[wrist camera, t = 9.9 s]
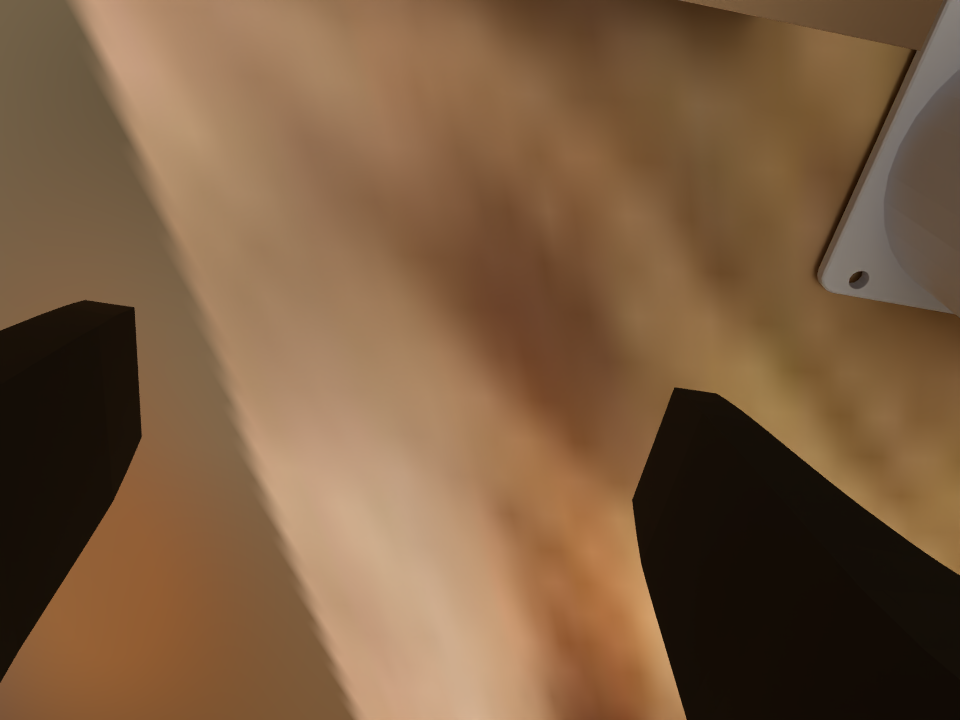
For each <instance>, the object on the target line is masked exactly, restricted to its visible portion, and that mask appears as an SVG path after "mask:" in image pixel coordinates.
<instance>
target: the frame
mask: <svg viewBox="0 0 960 720" xmlns="http://www.w3.org/2000/svg"><path fill="white" fill-rule="evenodd" d="M680 1H685V2H690V3H695V4H700V5H704V6H709V7H714V8H719V9H723V10H728V11H733V12H738V13H742V14H747V15H752V16H757V17H761V18H766V19H771V20H776V21H780V22H785V23H790V24H795V25H799V26H804V27H809V28H814V29H818V30H823V31H828V32H833V33H838V34H842V35H847V36H852V37H857V38H861V39H866V40H871V41H876V42H880V43H885V44H890V45H895V46H899V47H904V48H909V49H914V50H918V51H920V50H921V48H922V46H923V44H924V42H925V39H926V37H927V35H928V33H929V31H930V28H931V26H932V24H933V22H934V20H935V17H936V15H937V13H938V11H939V8H940V6H941V4H942V2H943V0H680Z"/></svg>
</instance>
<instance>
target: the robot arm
mask: <svg viewBox="0 0 960 720" xmlns="http://www.w3.org/2000/svg"><path fill="white" fill-rule="evenodd" d="M858 271H863V272H862V276H861V277H860V278H859V280H857V281H855V282H854V283H849V279H850V277H851V276H852V275H853V274H854V273H856V272H858ZM817 277H818V281H819V282H820V284H821V285H822V286H823V287H824V288H825V289H826V290H827V291H829V292H832V293H836V294H842V295H848V296H854V297H859V298H865V299H871V300H876V301H882V302H888V303H894V304H899V305H905V306H911V307H917V308H922V309H928V310H934V311H939V312H945V313H951V314H956V315H957V316H958V317H959V318H960V0H943V2H942V4H941V6H940V8H939V11H938V13H937V15H936V17H935V20H934V22H933V24H932V26H931V28H930V31H929V33H928V35H927V37H926V39H925V42H924V44H923V46H922V48H921V50H920V51H918V50H917V52H916V54H915V56H914V58H913V61H912V63H911V65H910V67H909V70H908V72H907V74H906V76H905V78H904V81H903V83H902V85H901V87H900V90H899V92H898V94H897V96H896V98H895V101H894V103H893V105H892V107H891V109H890V112H889V114H888V116H887V118H886V121H885V123H884V125H883V127H882V129H881V132H880V134H879V136H878V138H877V141H876V143H875V145H874V147H873V149H872V152H871V154H870V156H869V158H868V160H867V163H866V165H865V167H864V169H863V172H862V174H861V176H860V178H859V180H858V183H857V185H856V187H855V189H854V192H853V194H852V196H851V198H850V200H849V203H848V205H847V207H846V209H845V211H844V214H843V216H842V218H841V220H840V223H839V225H838V227H837V229H836V231H835V234H834V236H833V238H832V240H831V243H830V245H829V247H828V249H827V251H826V254H825V256H824V258H823V260H822V262H821V265H820V267H819V270H818V274H817ZM141 437H142V435H141V417H140V398H139V381H138V364H137V345H136V327H135V311H134V307H127V306H120V305H114V304H108V303H101V302H94V301H87V300H84V301H80V302H77V303H73V304H70V305H66V306H63V307H61V308H58V309H55V310H52V311H49V312H47V313H44V314H41V315H39V316H36V317H34V318H31V319H29V320H26V321H23V322H21V323H19V324H16V325H13V326H11V327H9V328H6V329H3V330H1V331H0V682H1V681H2V679H3V677H4V675H5V674H6V672H7V670H8V668H9V667H10V665H11V663H12V662H13V659H14V658H15V656H16V655H17V653H18V651H19V649H20V648H21V646H22V645H23V643H24V642H25V640H26V638H27V637H28V635H29V634H30V632H31V631H32V629H33V627H34V626H35V624H36V623H37V621H38V620H39V618H40V616H41V615H42V613H43V612H44V610H45V609H46V607H47V605H48V604H49V602H50V601H51V599H52V598H53V596H54V594H55V593H56V591H57V590H58V588H59V587H60V585H61V584H62V582H63V580H64V579H65V577H66V576H67V574H68V572H69V571H70V569H71V568H72V566H73V565H74V563H75V562H76V560H77V558H78V557H79V555H80V554H81V552H82V551H83V549H84V547H85V546H86V544H87V542H88V541H89V539H90V537H91V536H92V534H93V533H94V531H95V530H96V528H97V526H98V524H99V523H100V522H101V520H102V518H103V517H104V515H105V514H106V512H107V510H108V509H109V507H110V505H111V504H112V502H113V500H114V498H115V496H116V494H117V491H118V489H119V487H120V485H121V483H122V481H123V479H124V476H125V474H126V472H127V470H128V467H129V465H130V463H131V461H132V458H133V456H134V454H135V451H136V449H137V447H138V444H139V442H140V439H141ZM632 502H633V510H634V518H635V526H636V534H637V540H638V546H639V553H640V559H641V565H642V568H643V572H644V576H645V579H646V583H647V586H648V590H649V593H650V597H651V600H652V604H653V607H654V611H655V614H656V618H657V621H658V624H659V628H660V631H661V634H662V638H663V641H664V644H665V648H666V651H667V654H668V658H669V661H670V665H671V668H672V671H673V675H674V678H675V681H676V685H677V688H678V691H679V695H680V698H681V702H682V705H683V708H684V712H685V715H686V719H687V720H960V575H958V574H957V573H955V572H953V571H952V570H950V569H949V568H947V567H946V566H944V565H943V564H941V563H939V562H938V561H937V560H935V559H934V558H932V557H931V556H929V555H928V554H926V553H925V552H923V551H922V550H921V549H919V548H918V547H916V546H915V545H913V544H912V543H910V542H909V541H908V540H906V539H905V538H904V537H902V536H901V535H900V534H898V533H897V532H895V531H894V530H893V529H891V528H890V527H889V526H887V525H886V524H885V523H883V522H882V521H880V520H879V519H878V518H876V517H875V516H874V515H872V514H871V513H870V512H868V511H867V510H865V509H864V508H863V507H862V506H860V505H859V504H858V503H856V502H855V501H854V500H853V499H851V498H850V497H849V496H847V495H846V494H845V493H843V492H842V491H841V490H840V489H838V488H837V487H836V486H835V485H833V484H832V483H831V482H829V481H828V480H827V479H826V478H824V477H823V476H822V475H821V474H820V473H818V472H817V471H816V470H815V469H813V468H812V467H811V466H810V465H808V464H807V463H806V462H805V461H803V460H802V459H801V458H800V457H799V456H797V455H796V454H795V453H794V452H792V451H791V450H790V449H789V448H787V447H786V446H785V445H784V444H783V443H781V442H780V441H779V440H778V439H776V438H775V437H774V436H773V435H772V434H770V433H769V432H768V431H767V430H765V429H764V428H763V427H762V426H760V425H759V424H758V423H757V422H755V421H754V420H753V419H752V418H750V417H749V416H748V415H746V414H745V413H744V412H743V411H741V410H740V409H739V408H737V407H736V406H735V405H733V404H732V403H730V402H729V401H727V400H726V399H724V398H723V397H721V396H720V395H718V394H716V393H709V392H702V391H696V390H689V389H682V388H675V387H674V390H673V393H672V395H671V398H670V401H669V403H668V406H667V409H666V411H665V414H664V417H663V419H662V422H661V425H660V427H659V430H658V433H657V435H656V438H655V441H654V443H653V446H652V449H651V451H650V454H649V457H648V459H647V462H646V465H645V467H644V470H643V473H642V475H641V478H640V481H639V483H638V486H637V489H636V491H635V494H634V497H633V499H632Z"/></svg>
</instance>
